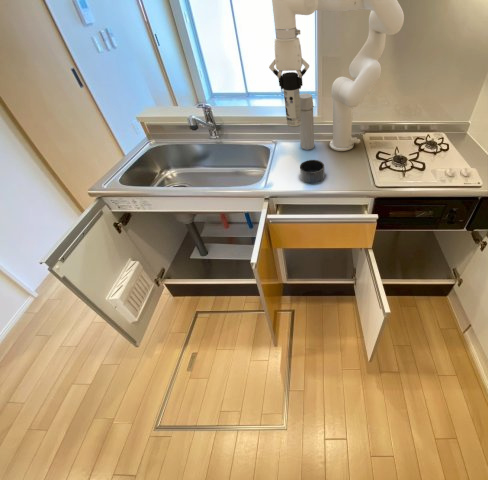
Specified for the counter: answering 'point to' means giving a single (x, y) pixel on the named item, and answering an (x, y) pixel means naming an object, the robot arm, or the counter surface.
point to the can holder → (312, 171)
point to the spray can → (292, 99)
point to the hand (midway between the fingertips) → (291, 87)
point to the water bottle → (306, 122)
